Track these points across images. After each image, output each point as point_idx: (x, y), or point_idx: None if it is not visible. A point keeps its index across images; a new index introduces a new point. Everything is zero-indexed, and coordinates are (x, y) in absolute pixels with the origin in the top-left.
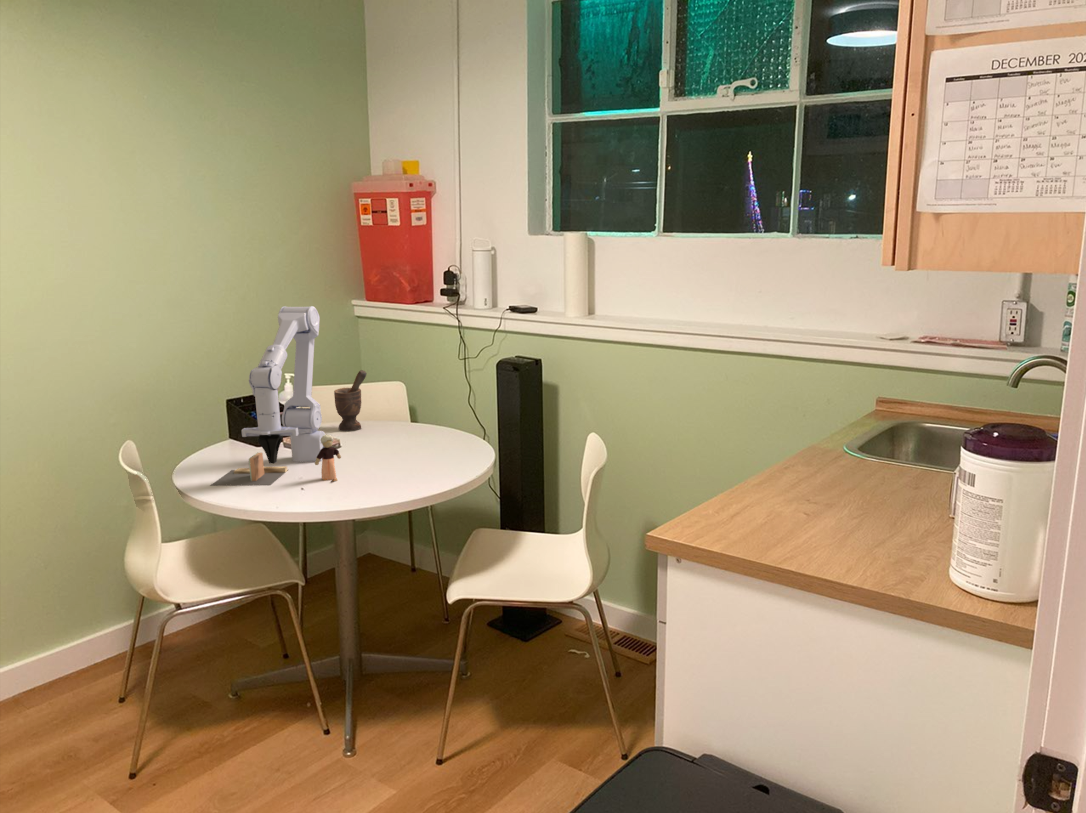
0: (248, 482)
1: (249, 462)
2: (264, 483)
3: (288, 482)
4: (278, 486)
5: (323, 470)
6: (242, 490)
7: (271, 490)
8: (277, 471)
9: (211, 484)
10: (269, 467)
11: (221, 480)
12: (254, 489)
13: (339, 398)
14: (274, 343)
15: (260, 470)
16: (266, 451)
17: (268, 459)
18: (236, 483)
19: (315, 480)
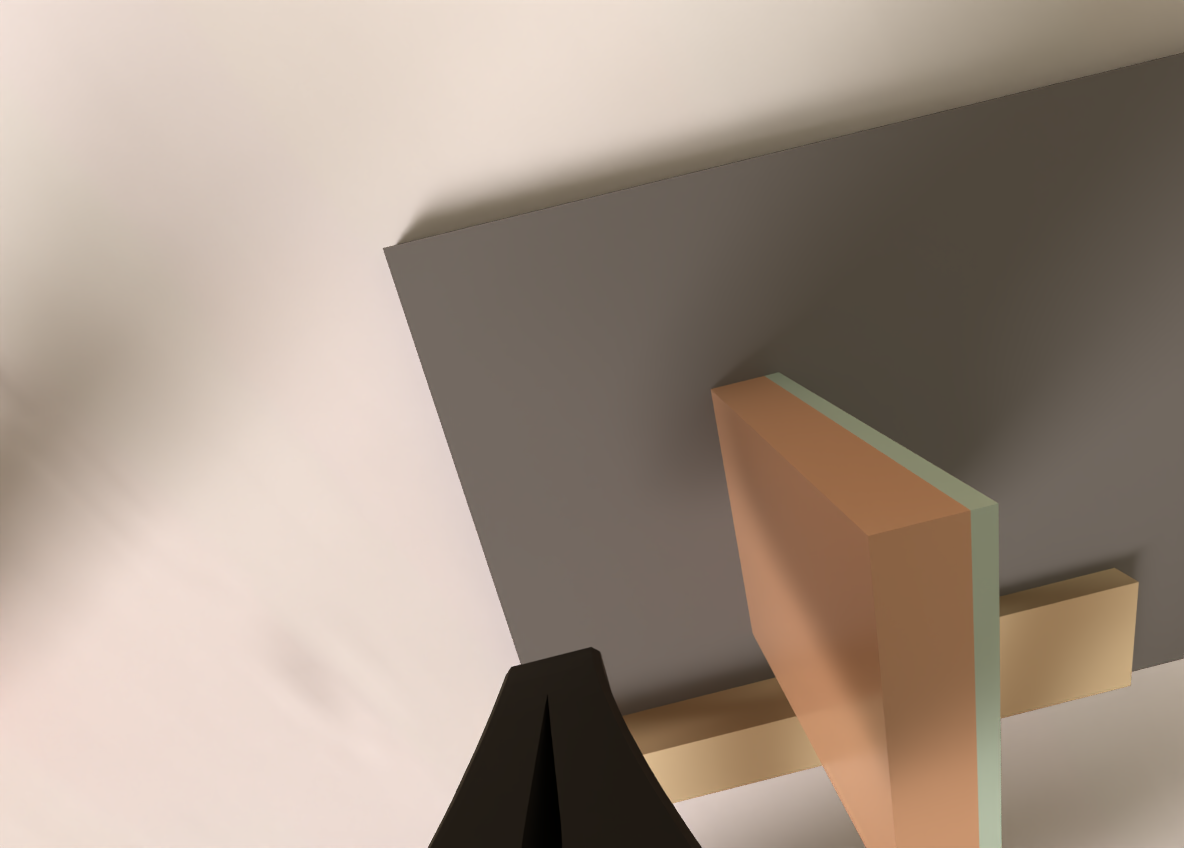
0: (770, 297)
1: (925, 470)
2: (521, 306)
3: (334, 513)
4: (343, 344)
5: None
6: (725, 67)
7: (311, 158)
8: (634, 721)
9: None
10: (753, 753)
11: (1168, 297)
12: (582, 149)
13: None
14: None
15: (765, 588)
16: (634, 846)
17: (596, 688)
18: (914, 218)
19: (66, 648)
